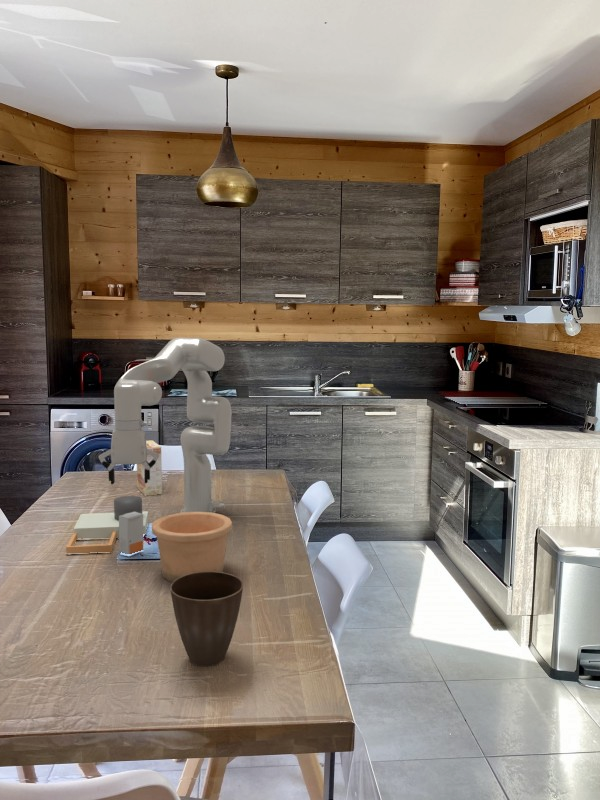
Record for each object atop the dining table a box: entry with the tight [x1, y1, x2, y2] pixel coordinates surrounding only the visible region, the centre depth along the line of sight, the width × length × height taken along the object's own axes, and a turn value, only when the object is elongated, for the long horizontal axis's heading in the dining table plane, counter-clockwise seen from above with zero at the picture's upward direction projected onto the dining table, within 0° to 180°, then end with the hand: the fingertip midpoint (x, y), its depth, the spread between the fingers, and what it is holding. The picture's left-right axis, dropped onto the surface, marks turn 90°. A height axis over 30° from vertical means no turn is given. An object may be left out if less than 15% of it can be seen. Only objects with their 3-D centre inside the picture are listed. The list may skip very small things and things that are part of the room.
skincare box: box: [118, 512, 145, 554], centre depth 205 cm, size 6×4×12 cm
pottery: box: [151, 512, 233, 583], centre depth 190 cm, size 22×22×14 cm
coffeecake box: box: [136, 439, 163, 497], centre depth 275 cm, size 15×7×20 cm, turn 25°
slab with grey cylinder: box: [65, 495, 149, 554], centre depth 219 cm, size 22×29×10 cm
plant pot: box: [169, 571, 244, 667], centre depth 143 cm, size 15×15×16 cm
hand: (129, 482), depth 202 cm, fingers open, 9 cm apart
